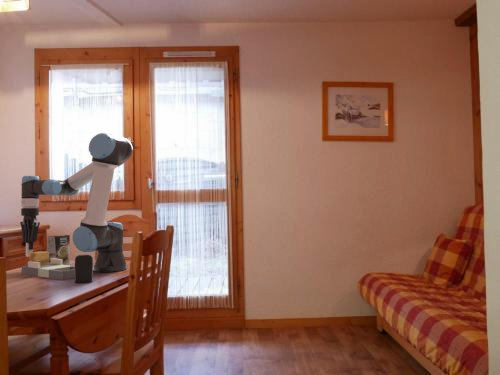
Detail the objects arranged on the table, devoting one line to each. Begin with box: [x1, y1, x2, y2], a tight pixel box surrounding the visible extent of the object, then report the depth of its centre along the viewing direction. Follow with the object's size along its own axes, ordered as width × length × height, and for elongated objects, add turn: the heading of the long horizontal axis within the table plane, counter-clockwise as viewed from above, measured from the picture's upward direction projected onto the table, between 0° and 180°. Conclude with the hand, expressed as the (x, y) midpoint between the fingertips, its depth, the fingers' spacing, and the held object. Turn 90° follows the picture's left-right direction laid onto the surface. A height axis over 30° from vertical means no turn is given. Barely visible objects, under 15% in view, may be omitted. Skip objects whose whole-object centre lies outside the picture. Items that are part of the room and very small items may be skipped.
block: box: [28, 250, 49, 266], centre depth 190 cm, size 6×6×6 cm
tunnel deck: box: [21, 258, 75, 281], centre depth 184 cm, size 31×12×6 cm, turn 59°
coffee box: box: [46, 234, 71, 265], centre depth 206 cm, size 9×6×16 cm
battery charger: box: [74, 253, 94, 284], centre depth 166 cm, size 7×4×11 cm, turn 109°
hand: (29, 256), depth 194 cm, fingers closed
